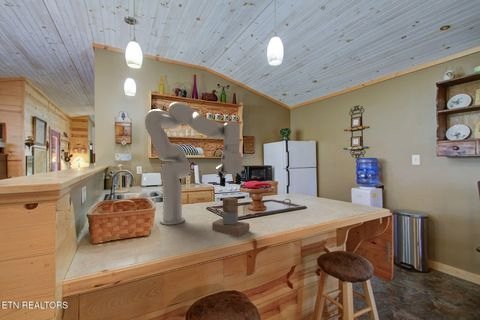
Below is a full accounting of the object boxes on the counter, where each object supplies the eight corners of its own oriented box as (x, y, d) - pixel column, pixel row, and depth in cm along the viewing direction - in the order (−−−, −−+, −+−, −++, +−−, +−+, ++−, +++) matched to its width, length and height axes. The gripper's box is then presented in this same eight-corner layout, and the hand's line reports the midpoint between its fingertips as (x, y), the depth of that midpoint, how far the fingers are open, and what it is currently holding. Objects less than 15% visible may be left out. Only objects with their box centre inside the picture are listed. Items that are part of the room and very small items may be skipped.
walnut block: (222, 211, 105) (222, 198, 105) (230, 209, 108) (231, 197, 108) (229, 213, 101) (229, 200, 101) (237, 211, 105) (237, 198, 105)
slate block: (237, 220, 107) (237, 210, 107) (235, 224, 101) (235, 213, 101) (225, 220, 108) (225, 209, 108) (222, 224, 102) (222, 213, 102)
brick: (211, 231, 106) (211, 221, 106) (222, 226, 113) (222, 217, 113) (240, 238, 97) (240, 227, 97) (250, 233, 104) (250, 223, 104)
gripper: (222, 148, 96) (221, 188, 97) (249, 149, 109) (248, 184, 109) (211, 148, 102) (210, 185, 102) (239, 149, 114) (238, 183, 114)
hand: (230, 185), depth 106 cm, fingers open, 9 cm apart
